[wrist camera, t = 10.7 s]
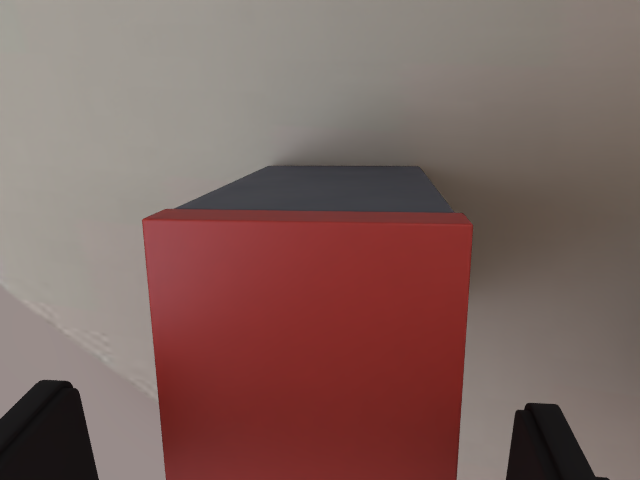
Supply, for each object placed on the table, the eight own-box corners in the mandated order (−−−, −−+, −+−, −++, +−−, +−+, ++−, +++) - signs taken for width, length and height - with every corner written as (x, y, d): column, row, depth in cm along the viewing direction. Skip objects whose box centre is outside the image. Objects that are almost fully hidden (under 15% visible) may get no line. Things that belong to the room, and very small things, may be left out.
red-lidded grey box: (423, 166, 21) (417, 317, 22) (263, 165, 22) (268, 312, 23) (474, 223, 10) (454, 516, 11) (141, 218, 11) (166, 493, 12)
